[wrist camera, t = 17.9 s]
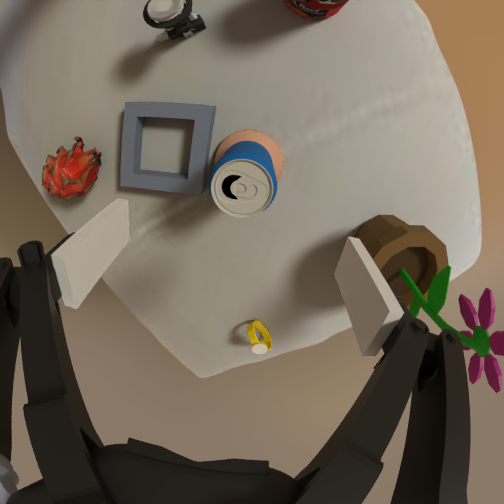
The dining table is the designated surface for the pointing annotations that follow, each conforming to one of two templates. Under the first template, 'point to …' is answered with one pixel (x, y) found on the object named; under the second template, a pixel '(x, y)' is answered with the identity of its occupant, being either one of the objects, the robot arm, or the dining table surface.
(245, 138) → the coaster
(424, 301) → the flowerpot
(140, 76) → the dining table surface
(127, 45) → the dining table surface
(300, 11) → the canned food
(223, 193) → the beverage can
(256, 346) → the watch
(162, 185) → the grey square frame
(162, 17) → the push button
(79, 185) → the dragon fruit
